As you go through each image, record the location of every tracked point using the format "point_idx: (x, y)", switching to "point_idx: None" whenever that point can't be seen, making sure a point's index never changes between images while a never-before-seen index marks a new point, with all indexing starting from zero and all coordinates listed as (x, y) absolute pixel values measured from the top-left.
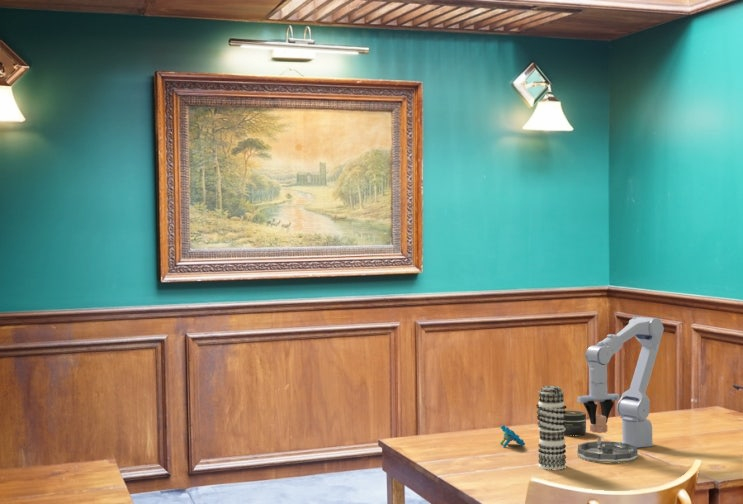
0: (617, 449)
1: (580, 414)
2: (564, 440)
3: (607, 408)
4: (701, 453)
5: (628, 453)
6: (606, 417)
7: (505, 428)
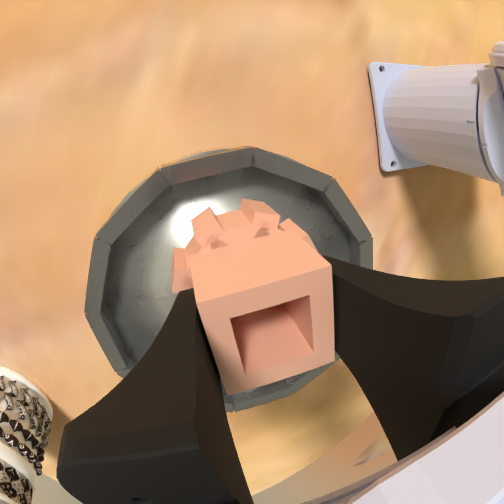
0: None
1: None
2: (34, 483)
3: (383, 422)
4: (492, 269)
5: (288, 395)
6: (337, 345)
7: None
